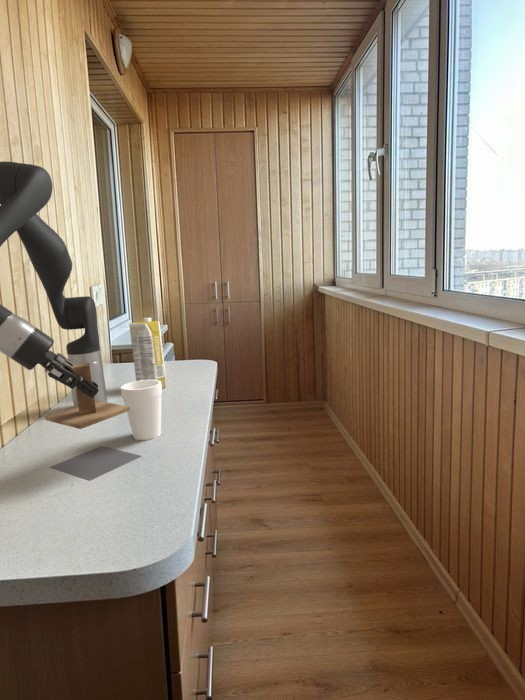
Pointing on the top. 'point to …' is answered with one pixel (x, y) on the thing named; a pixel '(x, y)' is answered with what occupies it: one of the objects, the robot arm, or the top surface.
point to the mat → (95, 462)
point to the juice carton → (148, 351)
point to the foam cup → (143, 407)
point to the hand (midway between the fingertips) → (95, 391)
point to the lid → (86, 406)
